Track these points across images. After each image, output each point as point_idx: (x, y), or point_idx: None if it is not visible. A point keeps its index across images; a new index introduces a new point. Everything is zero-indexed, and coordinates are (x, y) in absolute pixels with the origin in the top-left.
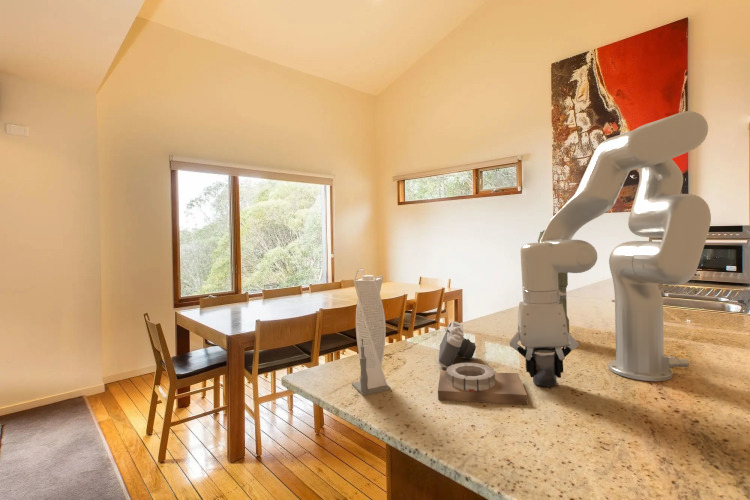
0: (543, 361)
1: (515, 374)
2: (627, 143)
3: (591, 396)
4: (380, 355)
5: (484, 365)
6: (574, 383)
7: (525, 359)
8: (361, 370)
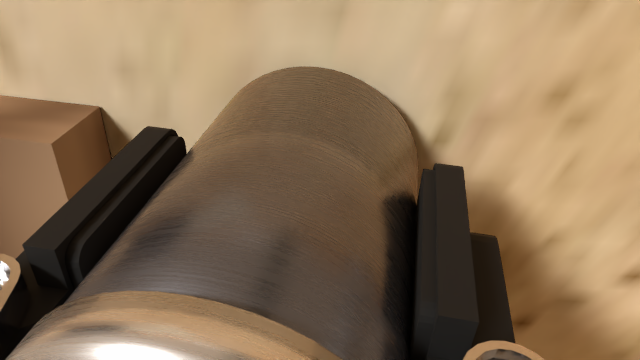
0: None
1: (33, 174)
2: None
3: (571, 353)
4: None
5: None
6: (604, 150)
7: (23, 261)
8: None
